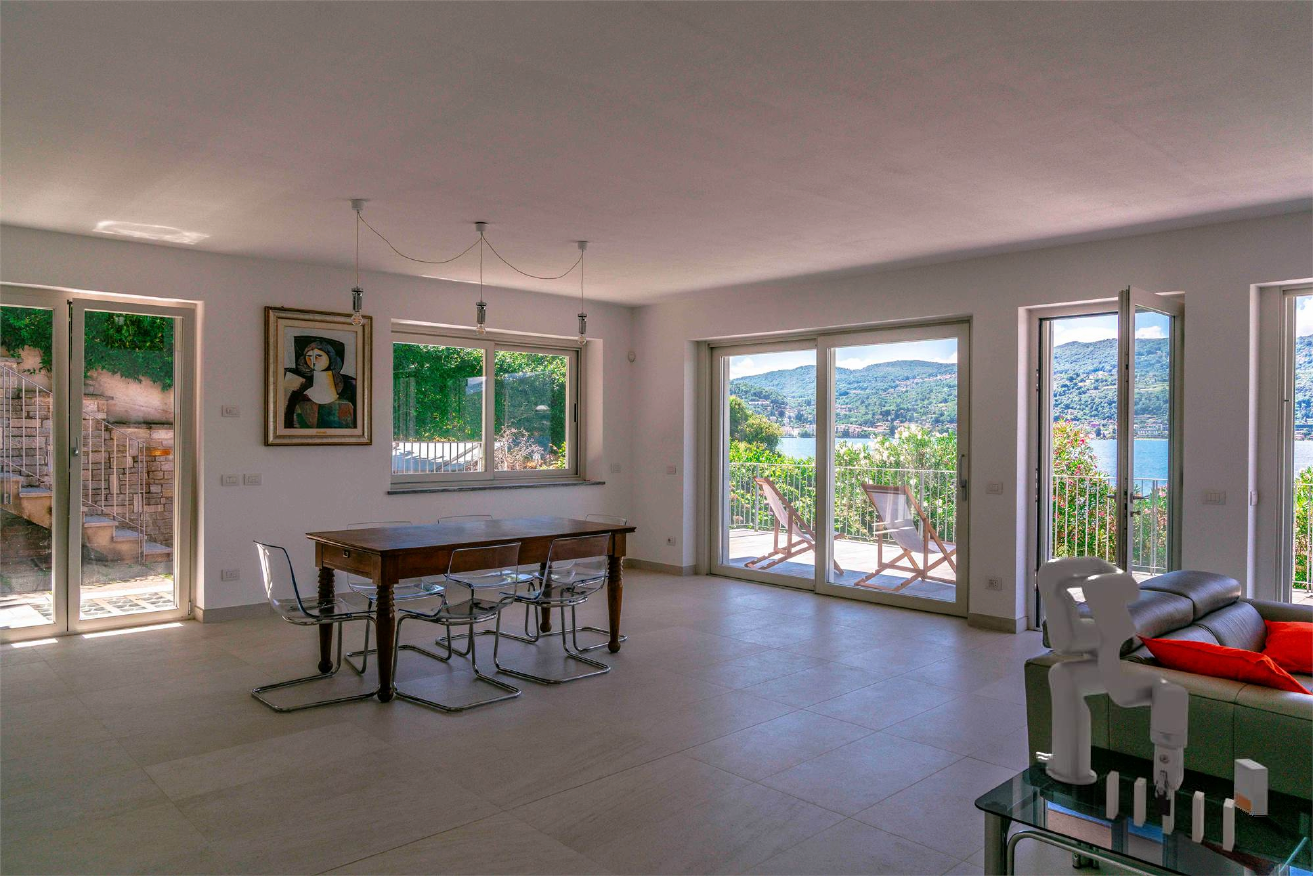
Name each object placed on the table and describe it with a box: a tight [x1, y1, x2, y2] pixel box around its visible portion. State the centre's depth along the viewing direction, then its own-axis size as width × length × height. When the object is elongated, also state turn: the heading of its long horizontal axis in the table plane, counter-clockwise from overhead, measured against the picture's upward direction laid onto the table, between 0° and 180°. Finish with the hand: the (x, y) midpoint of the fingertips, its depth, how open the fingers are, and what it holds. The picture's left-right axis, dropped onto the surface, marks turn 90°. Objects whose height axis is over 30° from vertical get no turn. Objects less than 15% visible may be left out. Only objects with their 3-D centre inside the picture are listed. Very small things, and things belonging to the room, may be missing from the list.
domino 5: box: [1222, 798, 1236, 853], centre depth 194 cm, size 2×5×10 cm, turn 140°
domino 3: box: [1162, 784, 1175, 836], centre depth 201 cm, size 2×5×10 cm, turn 140°
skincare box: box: [1233, 758, 1269, 817], centre depth 211 cm, size 6×4×12 cm
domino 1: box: [1105, 770, 1120, 820], centre depth 209 cm, size 2×5×10 cm, turn 140°
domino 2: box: [1133, 776, 1147, 828], centre depth 205 cm, size 2×5×10 cm, turn 140°
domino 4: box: [1191, 790, 1205, 844], centre depth 197 cm, size 2×5×10 cm, turn 140°
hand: (1166, 806), depth 202 cm, fingers open, 9 cm apart
